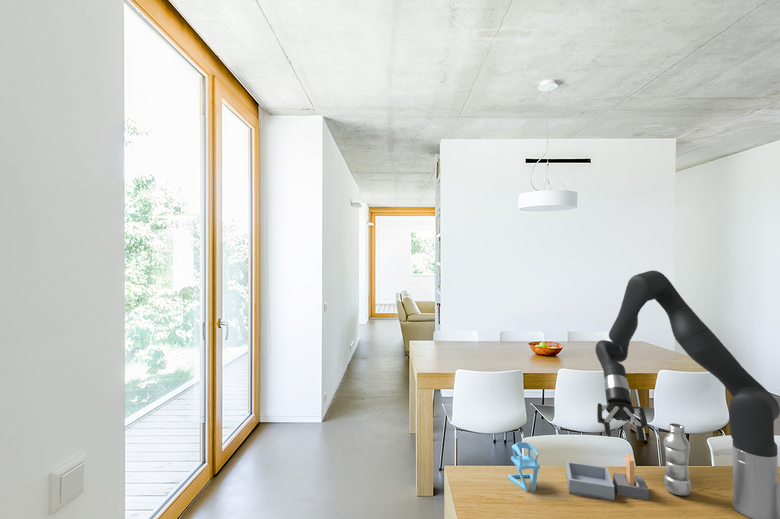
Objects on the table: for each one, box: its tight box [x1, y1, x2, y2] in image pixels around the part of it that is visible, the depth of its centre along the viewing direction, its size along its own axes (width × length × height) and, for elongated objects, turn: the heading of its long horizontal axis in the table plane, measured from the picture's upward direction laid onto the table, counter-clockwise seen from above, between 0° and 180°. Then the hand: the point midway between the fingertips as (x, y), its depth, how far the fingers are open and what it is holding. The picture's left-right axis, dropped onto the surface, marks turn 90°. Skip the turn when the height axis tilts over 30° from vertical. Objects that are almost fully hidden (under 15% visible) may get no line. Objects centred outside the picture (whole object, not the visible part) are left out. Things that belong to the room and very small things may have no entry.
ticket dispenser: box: [612, 472, 650, 501], centre depth 123 cm, size 8×8×4 cm
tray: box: [565, 460, 615, 502], centre depth 125 cm, size 12×12×4 cm
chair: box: [507, 441, 541, 492], centre depth 126 cm, size 8×8×12 cm
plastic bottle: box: [663, 422, 692, 497], centre depth 122 cm, size 6×7×20 cm
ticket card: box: [625, 453, 635, 486], centre depth 123 cm, size 1×4×10 cm, turn 161°
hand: (624, 437), depth 131 cm, fingers open, 8 cm apart
